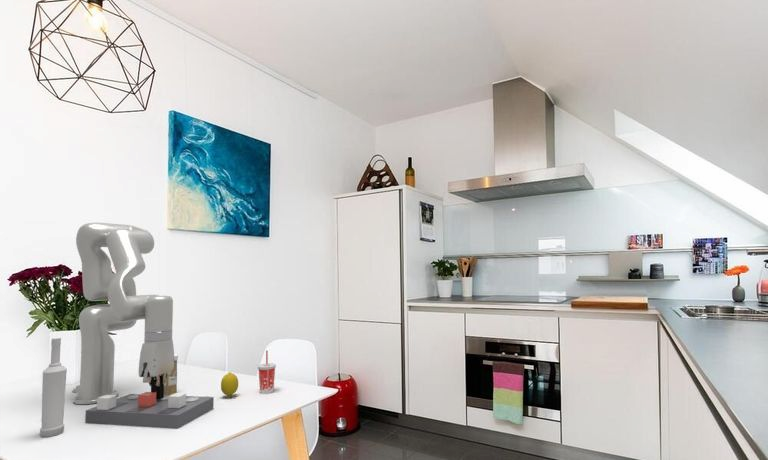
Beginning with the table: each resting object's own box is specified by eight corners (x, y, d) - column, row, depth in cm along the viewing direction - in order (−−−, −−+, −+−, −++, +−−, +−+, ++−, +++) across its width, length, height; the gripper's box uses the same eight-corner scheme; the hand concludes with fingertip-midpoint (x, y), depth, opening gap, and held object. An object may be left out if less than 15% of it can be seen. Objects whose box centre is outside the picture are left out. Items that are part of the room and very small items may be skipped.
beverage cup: (274, 388, 150) (274, 348, 151) (276, 392, 144) (276, 351, 145) (257, 390, 147) (257, 349, 149) (258, 395, 142) (258, 353, 143)
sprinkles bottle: (175, 395, 144) (176, 355, 145) (160, 396, 143) (161, 356, 144) (178, 391, 148) (179, 353, 149) (164, 393, 147) (165, 354, 148)
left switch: (96, 409, 119) (97, 397, 120) (105, 406, 122) (106, 394, 123) (107, 410, 119) (107, 398, 119) (116, 406, 122) (116, 395, 122)
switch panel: (85, 423, 119) (85, 409, 120) (130, 404, 135) (130, 392, 135) (177, 428, 113) (178, 413, 114) (213, 408, 129) (213, 396, 129)
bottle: (48, 430, 114) (52, 337, 116) (68, 429, 115) (72, 336, 117) (34, 438, 109) (39, 340, 111) (55, 437, 109) (59, 339, 112)
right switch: (168, 407, 119) (168, 396, 120) (175, 404, 122) (175, 393, 122) (178, 408, 119) (179, 396, 119) (185, 404, 121) (186, 393, 122)
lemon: (232, 399, 138) (232, 374, 138) (217, 399, 139) (217, 374, 139) (241, 394, 143) (241, 370, 144) (226, 394, 144) (226, 370, 145)
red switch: (137, 406, 121) (138, 395, 122) (145, 403, 124) (146, 392, 124) (148, 406, 121) (148, 395, 121) (156, 403, 123) (156, 392, 124)
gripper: (164, 332, 136) (163, 391, 134) (128, 340, 121) (126, 406, 120) (185, 332, 135) (184, 391, 133) (151, 341, 120) (149, 407, 118)
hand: (157, 398), depth 126 cm, fingers closed
